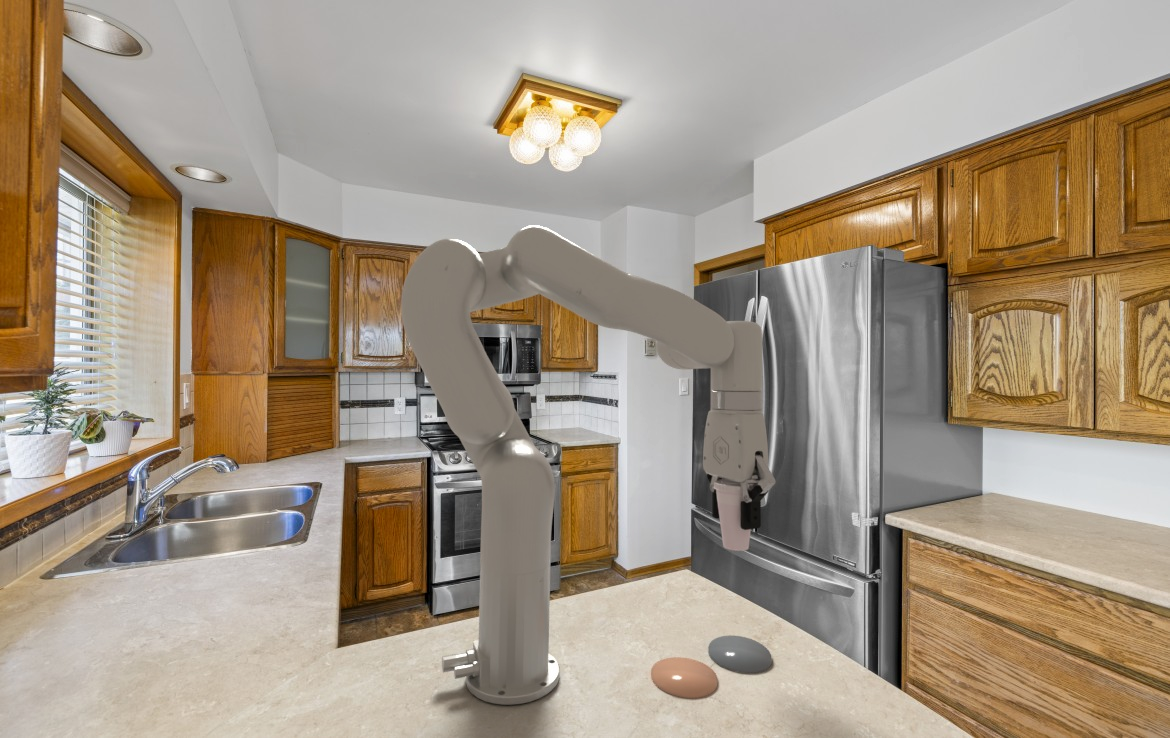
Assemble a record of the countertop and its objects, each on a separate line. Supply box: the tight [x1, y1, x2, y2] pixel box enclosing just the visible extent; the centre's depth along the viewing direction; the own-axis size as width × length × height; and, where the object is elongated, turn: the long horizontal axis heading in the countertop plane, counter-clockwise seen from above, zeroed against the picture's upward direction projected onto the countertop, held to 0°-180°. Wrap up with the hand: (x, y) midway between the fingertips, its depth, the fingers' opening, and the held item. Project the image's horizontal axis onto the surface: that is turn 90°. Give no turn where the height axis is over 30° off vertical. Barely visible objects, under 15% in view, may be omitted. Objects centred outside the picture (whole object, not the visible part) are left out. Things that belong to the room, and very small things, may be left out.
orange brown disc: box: [650, 656, 719, 699], centre depth 72 cm, size 9×9×1 cm
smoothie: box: [714, 478, 753, 552], centre depth 79 cm, size 6×6×14 cm
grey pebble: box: [707, 635, 772, 674], centre depth 78 cm, size 9×9×1 cm
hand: (735, 521), depth 79 cm, fingers closed on smoothie, 5 cm apart
